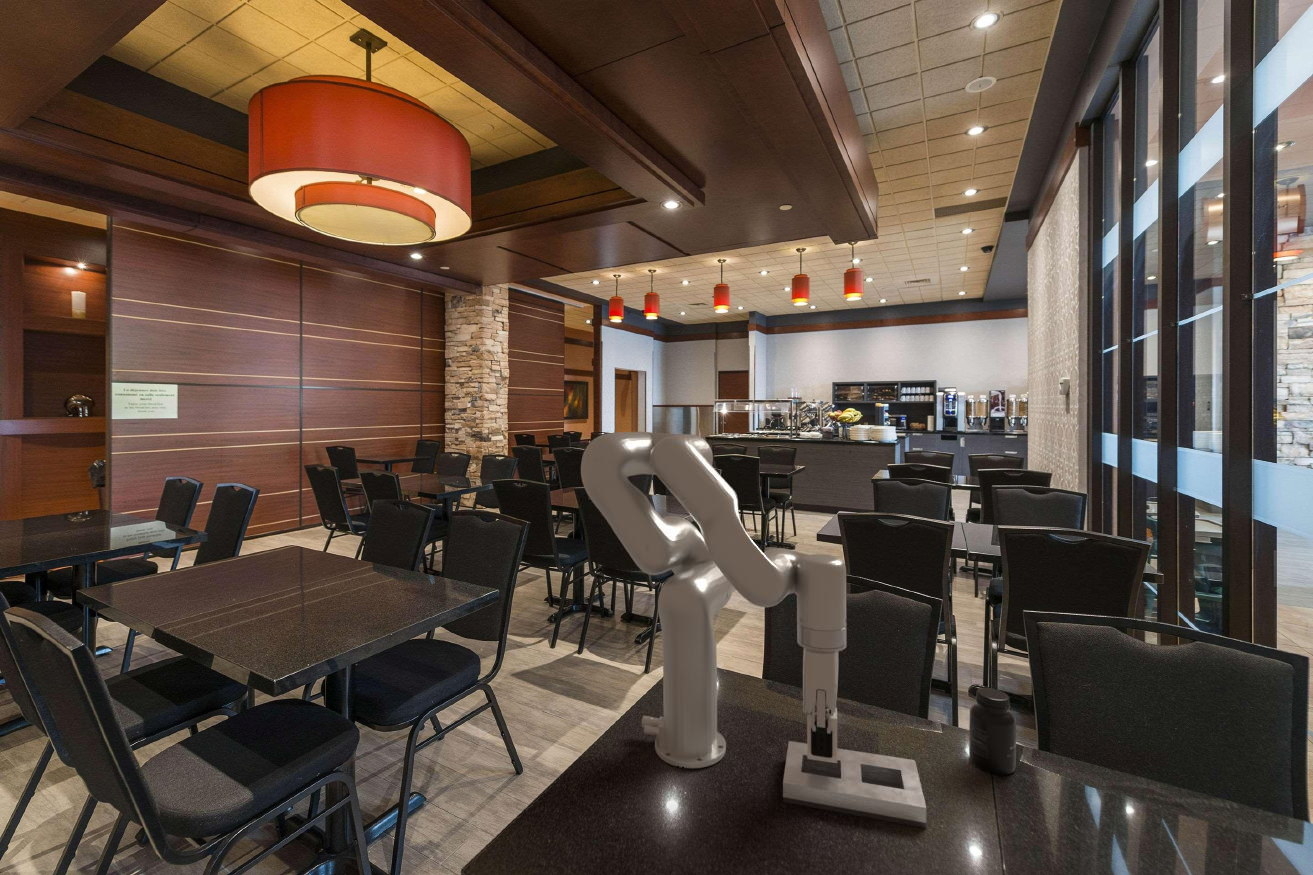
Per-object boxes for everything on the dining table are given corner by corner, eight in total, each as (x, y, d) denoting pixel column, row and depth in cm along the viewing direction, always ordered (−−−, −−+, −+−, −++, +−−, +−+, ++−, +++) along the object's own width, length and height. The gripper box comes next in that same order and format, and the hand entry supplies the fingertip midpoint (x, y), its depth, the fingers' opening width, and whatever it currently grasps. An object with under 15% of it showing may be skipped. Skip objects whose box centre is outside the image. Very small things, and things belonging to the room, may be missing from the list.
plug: (807, 758, 91) (807, 714, 90) (808, 746, 94) (808, 704, 94) (837, 763, 89) (837, 718, 89) (837, 750, 93) (836, 707, 93)
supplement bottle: (1023, 778, 93) (1023, 705, 93) (977, 773, 94) (977, 701, 94) (1006, 754, 100) (1006, 686, 100) (963, 750, 101) (964, 682, 101)
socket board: (783, 801, 88) (783, 782, 88) (788, 757, 99) (788, 740, 99) (926, 828, 82) (926, 807, 82) (914, 778, 93) (914, 759, 93)
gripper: (800, 615, 100) (800, 719, 101) (793, 651, 84) (794, 774, 85) (845, 619, 98) (845, 725, 98) (847, 657, 82) (848, 783, 83)
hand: (822, 746), depth 92 cm, fingers closed on plug, 3 cm apart
